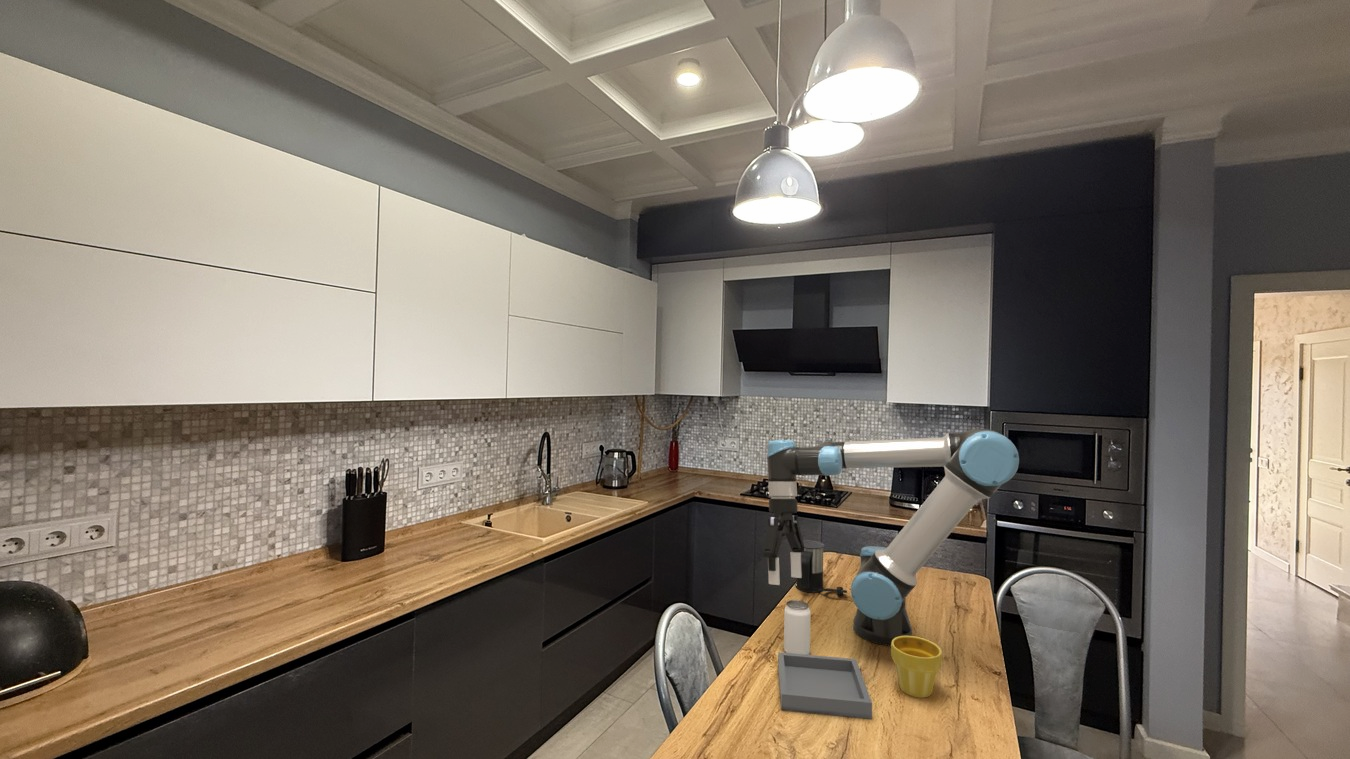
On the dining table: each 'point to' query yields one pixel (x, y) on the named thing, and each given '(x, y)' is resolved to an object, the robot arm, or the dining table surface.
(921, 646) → the plant pot
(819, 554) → the milk frother
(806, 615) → the can
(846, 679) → the tray
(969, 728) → the dining table surface
